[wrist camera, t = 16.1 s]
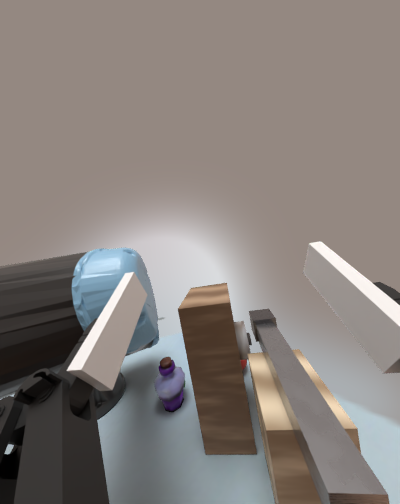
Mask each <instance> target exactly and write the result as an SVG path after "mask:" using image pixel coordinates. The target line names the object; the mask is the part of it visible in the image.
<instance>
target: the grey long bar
mask: <svg viewBox="0 0 400 504" xmlns="http://www.w3.org/2000/svg"><path fill="white" fill-rule="evenodd" d="M249 315H250V320H251V326H252V331H253V334H254V336H255V339H256V341H259V343H260V346H261V348H262V351H263V354H264V356H265V359H266V361H267V364H268V367H269V369H270V372H271V374H272V377H273V379H274V382H275V385H276V387H277V390H278V392H279V395H280V398H281V400H282V403H283V405H284V408H285V410H286V413H287V416H288V418H289V421H290V423H291V426H292V428H293V431H294V434H295V436H296V439H297V441H298V444H299V446H300V449H301V452H302V454H303V457H304V459H305V462H306V465H307V467H308V470H309V472H310V475H311V477H312V480H313V483H314V485H315V488H316V490H317V493H318V495H319V498H320V501H321V503H322V504H389V498H388V494H387V492H386V491H385V489H384V488H383V486H382V485H381V483H380V482H379V480H378V479H377V477H376V476H375V474H374V473H373V471H372V470H371V468H370V467H369V465H368V464H367V462H366V461H365V459H364V458H363V456H362V455H361V453H360V452H359V450H358V449H357V447H356V446H355V444H354V443H353V441H352V440H351V438H350V437H349V435H348V434H347V432H346V431H345V429H344V428H343V426H342V425H341V423H340V422H339V420H338V419H337V417H336V416H335V414H334V413H333V411H332V410H331V408H330V407H329V405H328V404H327V402H326V401H325V399H324V398H323V396H322V395H321V393H320V392H319V390H318V389H317V387H316V386H315V384H314V382H313V381H312V379H311V378H310V376H309V375H308V373H307V372H306V370H305V369H304V367H303V366H302V364H301V363H300V361H299V360H298V358H297V357H296V355H295V354H294V352H293V351H292V350H291V348H290V346H289V345H288V343H287V342H286V340H285V339H284V337H283V336H282V334H281V333H280V331H279V330H278V328H277V324H276V318H275V317H274V315H273V314H272V313H271V311H270V310H269V309H263V310H255V311H249Z"/></svg>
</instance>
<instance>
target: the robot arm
mask: <svg viewBox="0 0 400 504" xmlns="http://www.w3.org/2000/svg"><path fill="white" fill-rule="evenodd" d="M303 273H304V275H305V276H306V277H307V278H308V280H309V281H310V282H311V283H312V285H313V286H314V287H315V288H316V289H317V291H318V292H319V293H320V295H321V296H322V297H323V299H324V300H325V301H326V302H327V304H328V305H329V306H330V307H331V309H332V310H333V311H334V312H335V314H336V315H337V316H338V317H339V319H340V320H341V321H342V322H343V324H344V325H345V326H346V328H347V329H348V330H349V331H350V332H351V334H352V335H353V336H354V338H355V339H356V340H357V341H358V343H359V344H360V345H361V346H362V348H363V349H364V350H365V352H366V353H367V354H368V355H369V356H370V358H371V359H372V360H373V361H374V363H375V364H376V365H377V367H378V368H379V369H380V370H381V372H382V373H400V293H398V292H397V291H396V290H395V289H393V288H391V287H389V286H387V285H384V284H383V283H381V282H376V283H371V282H370V281H369V280H368V279H367V278H365V277H364V276H363V275H362V274H360V273H359V272H358V271H357V270H355V269H354V268H353V267H352V266H350V265H349V264H348V263H347V262H345V261H344V260H343V259H342V258H341V257H339V256H338V255H337V254H335V253H334V252H333V251H332V250H331V249H329V248H328V247H327V246H326V245H324V244H323V243H322V242H315V243H309V246H308V251H307V257H306V262H305V266H304V271H303ZM157 321H158V317H157V309H156V304H155V299H154V294H153V290H152V286H151V283H150V279H149V277H148V274H147V270H146V267H145V264H144V262H143V260H142V258H141V256H140V255H139V254H138V253H137V252H136V251H135V250H133V249H130V248H117V249H96V250H93V251H91V252H85V253H79V254H73V255H67V256H61V257H55V258H49V259H43V260H37V261H31V262H25V263H19V264H13V265H6V266H0V399H1V398H3V399H2V400H0V504H109V499H108V492H107V485H106V478H105V471H104V464H103V458H102V451H101V444H100V437H99V430H98V423H97V419H99V418H100V417H102V416H103V415H104V414H106V413H107V412H108V411H109V410H110V409H111V408H112V407H113V406H114V405H115V404H116V403H117V402H118V401H119V399H120V398H121V396H122V395H123V393H124V390H125V380H124V376H123V375H122V373H120V368H121V366H122V363H123V360H124V357H125V356H128V355H130V354H133V353H135V352H138V351H141V350H143V349H146V348H151V347H152V346H154V345H156V344H157V343H158V341H159V331H158V324H157ZM12 394H15V395H14V397H11V396H10V395H12ZM7 396H8V397H7ZM4 397H5V398H4ZM8 444H12V445H14V447H13V449H12V451H11V453H10V454H8V455H7V454H4V453H5V450H6V448H7V445H8Z"/></svg>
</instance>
